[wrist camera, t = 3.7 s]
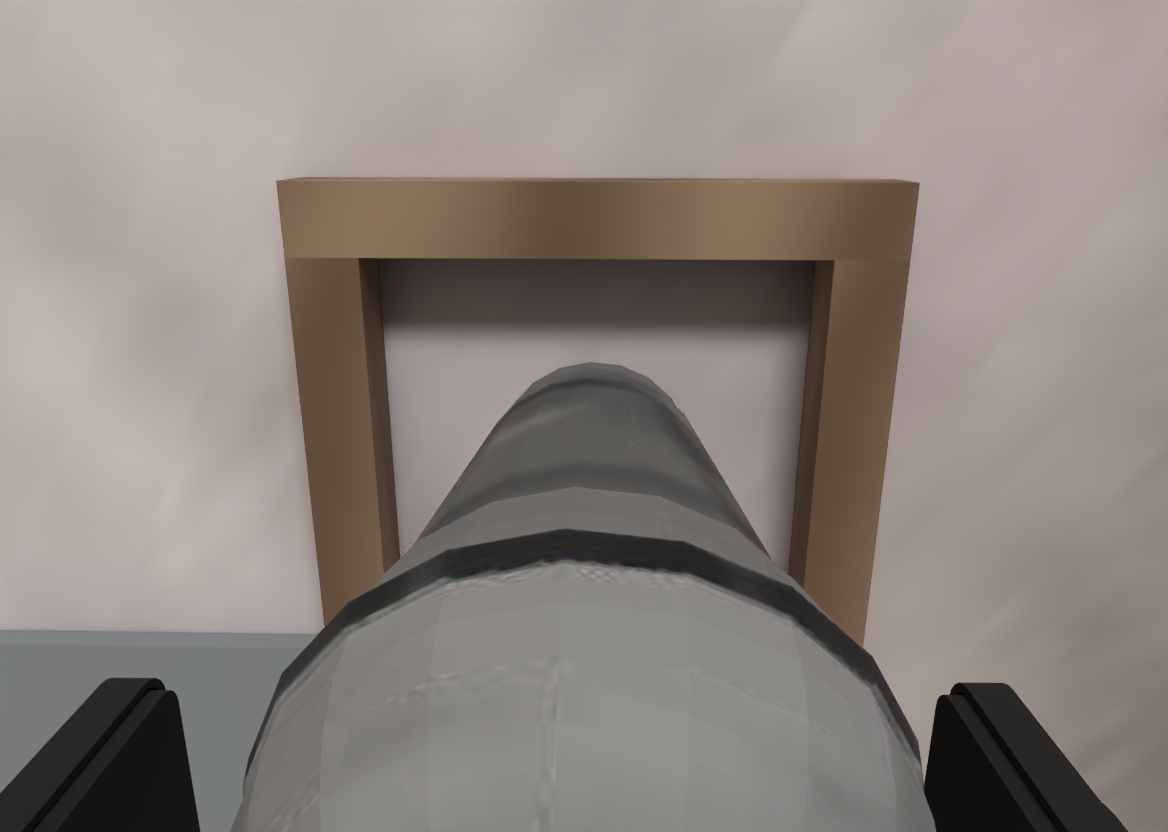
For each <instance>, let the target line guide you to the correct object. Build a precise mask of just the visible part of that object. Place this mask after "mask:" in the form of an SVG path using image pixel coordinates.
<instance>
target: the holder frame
mask: <svg viewBox="0 0 1168 832" xmlns="http://www.w3.org/2000/svg"><path fill="white" fill-rule="evenodd" d="M276 182H277V192H278V201H279V210H280V219H281V229H282V238H283V247H284V256H285V265H286V275H287V284H288V293H289V302H290V312H291V321H292V330H293V339H294V348H295V358H296V367H297V376H298V385H299V395H300V404H301V413H302V422H303V431H304V441H305V450H306V459H307V468H308V478H309V487H310V496H311V505H312V514H313V524H314V533H315V542H316V551H317V561H318V570H319V579H320V588H321V597H322V607H323V616H324V625H325V626H326V625H327V624H328V623H329V622H330V621H331V620H332V619H333V618H334V617H335V616H336V615H337V614H338V613H339V611H340V610H341V609H342V608H343V607H344V606H345V605H346V604H347V603H348V602H349V601H350V600H352V599H354V598H356V597H357V596H359V595H361V594H363V593H365V592H367V591H369V590H370V588H371V587H372V586H373V585H374V584H375V583H376V582H377V581H378V580H379V579H380V578H381V577H382V576H383V575H384V574H385V573H386V572H387V571H388V570H389V569H390V568H391V567H392V566H393V565H394V564H395V563H396V562H397V561H398V560H399V559H400V552H399V539H398V525H397V512H396V498H395V485H394V471H393V458H392V444H391V431H390V417H389V404H388V390H387V377H386V363H385V350H384V336H383V323H382V309H381V296H380V282H379V269H378V258H470V259H672V260H816V265H815V276H814V288H813V299H812V311H811V322H810V334H809V345H808V356H807V368H806V379H805V391H804V402H803V414H802V425H801V436H800V448H799V459H798V471H797V482H796V494H795V505H794V516H793V528H792V539H791V551H790V562H789V574H788V575H789V576H791V577H792V578H793V579H794V580H795V581H796V582H797V583H798V584H799V585H800V586H801V587H802V588H803V589H804V590H805V591H806V593H807V594H808V595H809V596H810V597H811V598H812V599H813V600H814V601H815V602H816V603H817V604H818V605H819V606H820V607H821V608H822V610H823V611H824V612H825V613H826V614H827V615H828V616H829V617H830V618H831V619H832V620H833V621H834V623H835V624H836V625H837V626H838V627H839V628H841V629H842V630H843V631H844V632H845V633H846V634H847V635H849V636H850V637H851V638H852V639H853V640H854V641H856V642H857V643H858V644H859V645H860V646H861V647H862V648H863V642H864V634H865V626H866V618H867V610H868V601H869V593H870V585H871V577H872V569H873V561H874V552H875V544H876V536H877V528H878V520H879V512H880V503H881V495H882V487H883V479H884V471H885V462H886V454H887V446H888V438H889V430H890V422H891V413H892V405H893V397H894V389H895V381H896V373H897V364H898V356H899V348H900V340H901V332H902V323H903V315H904V307H905V299H906V291H907V283H908V274H909V266H910V258H911V250H912V242H913V234H914V225H915V217H916V209H917V201H918V193H919V185H920V183H917V182H910V181H903V180H896V179H630V178H295V179H287V180H280V181H276Z"/></svg>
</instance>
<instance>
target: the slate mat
mask: <svg viewBox="0 0 1168 832" xmlns="http://www.w3.org/2000/svg"><path fill="white" fill-rule="evenodd" d="M316 636H317V635H291V634H220V633H149V632H78V631H7V630H0V793H1V792H2V791H3V790H4V789H5V787H6V786H7V785H8V784H9V783H10V782H11V781H12V780H13V779H14V778H15V777H16V775H17V774H18V773H19V772H20V771H21V770H22V769H23V768H24V767H25V766H26V765H27V764H28V762H29V761H30V760H31V759H32V758H33V757H34V756H35V755H36V754H37V753H38V752H39V750H40V749H41V748H42V747H43V746H44V745H45V744H46V743H47V742H48V741H49V740H50V739H51V737H52V736H53V735H54V734H55V733H56V732H57V731H58V730H59V729H60V728H61V727H62V725H63V724H64V723H65V722H66V721H67V720H68V719H69V718H70V717H71V716H72V715H73V714H74V712H75V711H76V710H77V709H78V708H79V707H80V706H81V705H82V704H83V703H84V702H85V700H86V699H87V698H88V697H89V696H90V695H91V694H92V693H93V692H94V691H95V690H96V689H97V687H98V686H99V685H100V684H101V683H103V682H104V681H105V680H106V679H109V678H157V679H160V680H161V681H162V682H163V684H164V685H165V689H166V690H172V691H174V692H175V693H176V695H177V697H178V700H179V705H180V711H181V717H182V723H183V730H184V736H185V742H186V748H187V754H188V760H189V766H190V772H191V778H192V784H193V790H194V796H195V802H196V808H197V814H198V820H199V826H200V832H230V830H231V828H232V825H233V823H234V820H235V818H236V815H237V812H238V810H239V807H240V805H241V802H242V800H243V782H244V777H245V773H246V768H247V763H248V758H249V755H250V753H251V750H252V748H253V745H254V742H255V740H256V737H257V735H258V732H259V730H260V727H261V725H262V722H263V720H264V717H265V714H266V712H267V709H268V707H269V704H270V702H271V699H272V697H273V694H274V692H275V689H276V686H277V684H278V681H279V679H280V676H281V674H282V673H283V671H284V670H285V669H286V668H287V667H288V666H289V665H290V664H291V663H292V662H293V661H294V660H295V659H296V658H297V656H298V655H299V654H300V653H301V652H302V651H303V650H304V649H305V648H306V647H307V646H308V645H309V644H310V643H311V641H312V640H313V639H314V638H315V637H316Z"/></svg>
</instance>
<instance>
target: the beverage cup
mask: <svg viewBox="0 0 1168 832" xmlns="http://www.w3.org/2000/svg"><path fill="white" fill-rule="evenodd" d="M230 832H936V828H935V823H934V819H933V816H932V813H931V811H930V808H929V805H928V803H927V800H926V798H925V792H924V782H923V773H922V765H921V758H920V751H919V745H918V740H917V738H916V736H915V734H914V732H913V730H912V729H911V727H910V725H909V723H908V721H907V719H906V717H905V716H904V714H903V712H902V710H901V708H900V706H899V705H898V703H897V701H896V699H895V697H894V695H893V693H892V692H891V690H890V688H889V686H888V684H887V682H886V681H885V679H884V677H883V675H882V673H881V671H880V669H879V668H878V666H877V664H876V662H875V660H874V658H873V657H872V655H870V654H869V653H868V652H867V651H866V650H865V649H864V648H862V647H861V646H860V645H859V644H858V643H857V642H856V641H854V640H853V639H852V638H851V637H850V636H849V635H847V634H846V633H845V632H844V631H843V630H842V629H841V628H839V627H838V626H837V625H836V624H835V623H834V621H833V620H832V619H831V618H830V617H829V616H828V615H827V614H826V613H825V612H824V611H823V610H822V608H821V607H820V606H819V605H818V604H817V603H816V602H815V601H814V600H813V599H812V598H811V597H810V596H809V595H808V594H807V593H806V591H805V590H804V589H803V588H802V587H801V586H800V585H799V584H798V583H797V582H796V581H795V580H794V579H793V578H792V577H791V576H789V575H788V574H787V573H786V572H785V571H784V570H783V569H781V568H780V567H779V566H778V565H777V564H776V563H775V562H773V561H772V559H771V558H770V556H769V554H768V553H767V551H766V549H765V548H764V546H763V544H762V543H761V541H760V539H759V538H758V536H757V534H756V533H755V531H754V529H753V528H752V526H751V525H750V523H749V521H748V520H747V518H746V516H745V515H744V513H743V511H742V510H741V508H740V506H739V505H738V503H737V501H736V500H735V498H734V496H733V495H732V493H731V491H730V490H729V488H728V486H727V485H726V483H725V481H724V480H723V478H722V476H721V475H720V473H719V471H718V470H717V468H716V466H715V465H714V463H713V461H712V460H711V458H710V456H709V455H708V453H707V451H706V450H705V448H704V446H703V445H702V443H701V441H700V440H699V438H698V436H697V435H696V433H695V431H694V430H693V428H692V426H691V425H690V423H689V421H688V420H687V418H686V416H685V415H684V413H682V412H681V411H680V410H679V409H678V408H677V407H676V406H675V404H674V403H673V401H672V399H671V398H670V397H669V396H668V395H667V394H666V393H665V392H664V391H663V390H661V389H660V388H659V387H658V386H657V385H656V384H655V383H654V382H653V381H651V380H650V379H649V378H647V377H645V376H643V375H641V374H638V373H636V372H634V371H632V370H629V369H627V368H625V367H623V366H619V365H610V364H601V363H592V362H589V363H584V364H579V365H574V366H569V367H564V368H559V369H558V370H556V371H554V372H552V373H550V374H549V375H547V376H545V377H543V378H541V379H540V380H538V381H536V382H534V383H533V384H532V385H531V386H530V387H529V388H528V389H527V390H526V391H525V393H524V394H523V395H522V396H521V397H520V398H519V399H518V400H517V401H516V402H515V403H514V404H513V406H512V407H511V408H510V409H509V410H508V411H507V412H506V413H505V415H504V416H503V417H502V418H501V419H500V420H499V421H498V422H497V424H496V425H495V427H494V428H493V430H492V431H491V433H490V434H489V435H488V437H487V438H486V440H485V441H484V443H483V444H482V446H481V447H480V449H479V450H478V452H477V453H476V454H475V456H474V457H473V459H472V460H471V462H470V463H469V465H468V466H467V468H466V469H465V471H464V472H463V473H462V475H461V476H460V478H459V479H458V481H457V482H456V484H455V485H454V487H453V488H452V490H451V491H450V492H449V494H448V495H447V497H446V498H445V500H444V501H443V503H442V504H441V506H440V507H439V508H438V510H437V511H436V513H435V514H434V516H433V517H432V519H431V520H430V522H429V523H428V525H427V526H426V527H425V529H424V530H423V532H422V533H421V535H420V536H419V538H418V539H417V541H416V542H415V544H414V545H413V546H412V548H411V549H410V550H409V551H408V552H407V553H405V554H404V555H403V556H402V557H401V558H400V559H399V560H398V561H397V562H396V563H395V564H394V565H393V566H392V567H391V568H390V569H389V570H388V571H387V572H386V573H385V574H384V575H383V576H382V577H381V578H380V579H379V580H378V581H377V582H376V583H375V584H374V585H373V586H372V587H371V588H370V590H369V591H367V592H365V593H363V594H361V595H359V596H357V597H356V598H354V599H352V600H350V601H349V602H348V603H347V604H346V605H345V606H344V607H343V608H342V609H341V610H340V611H339V613H338V614H337V615H336V616H335V617H334V618H333V619H332V620H331V621H330V622H329V623H328V624H327V625H326V626H325V628H324V629H323V630H322V631H321V632H320V633H319V634H318V635H317V636H316V637H315V638H314V639H313V640H312V641H311V643H310V644H309V645H308V646H307V647H306V648H305V649H304V650H303V651H302V652H301V653H300V654H299V655H298V656H297V658H296V659H295V660H294V661H293V662H292V663H291V664H290V665H289V666H288V667H287V668H286V669H285V670H284V671H283V673H282V674H281V676H280V679H279V681H278V684H277V686H276V689H275V692H274V694H273V697H272V699H271V702H270V704H269V707H268V709H267V712H266V714H265V717H264V720H263V722H262V725H261V727H260V730H259V732H258V735H257V737H256V740H255V742H254V745H253V748H252V750H251V753H250V755H249V758H248V763H247V768H246V773H245V777H244V782H243V800H242V802H241V805H240V807H239V810H238V812H237V815H236V818H235V820H234V823H233V825H232V828H231V830H230Z"/></svg>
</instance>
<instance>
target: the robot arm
mask: <svg viewBox="0 0 1168 832" xmlns="http://www.w3.org/2000/svg"><path fill="white" fill-rule="evenodd" d="M924 792H925V798H926V800H927V803H928V805H929V808H930V811H931V813H932V816H933V819H934V823H935V828H936V832H1128V831H1127V830H1126V828H1125V827H1124V826H1123V825H1122V823H1121V822H1120V821H1119V820H1118V818H1117V817H1116V816H1115V815H1114V814H1113V813H1112V812H1111V811H1110V810H1109V809H1108V808H1107V807H1106V806H1105V805H1104V804H1103V803H1101V801H1100V800H1099V799H1098V797H1097V796H1096V795H1095V794H1094V792H1093V791H1092V790H1091V789H1090V787H1089V786H1088V785H1087V783H1086V782H1085V781H1084V780H1083V778H1082V777H1081V776H1080V775H1079V773H1078V772H1077V771H1076V769H1075V768H1074V767H1073V766H1072V764H1071V763H1070V762H1069V761H1068V759H1067V758H1066V757H1065V755H1064V754H1063V753H1062V752H1061V750H1060V749H1059V748H1058V747H1057V745H1056V744H1055V743H1054V741H1053V740H1052V739H1051V738H1050V736H1049V735H1048V734H1047V733H1046V731H1045V730H1044V729H1043V727H1042V726H1041V725H1040V724H1039V722H1038V721H1037V720H1036V719H1035V717H1034V716H1033V715H1032V713H1031V712H1030V711H1029V710H1028V708H1027V707H1026V706H1025V705H1024V703H1023V702H1022V701H1021V699H1020V698H1019V697H1018V696H1017V694H1016V693H1015V692H1014V691H1013V689H1012V688H1011V687H1009V686H1008V685H1007V684H1004V683H957V684H955V685H954V686H953V688H952V689H951V693H950V695H942V696H940V697H939V699H938V700H937V704H936V710H935V717H934V723H933V730H932V737H931V743H930V750H929V757H928V764H927V770H926V777H925V784H924ZM0 832H200V826H199V820H198V814H197V808H196V802H195V796H194V790H193V784H192V778H191V772H190V766H189V760H188V754H187V748H186V742H185V736H184V730H183V723H182V717H181V711H180V705H179V700H178V697H177V695H176V693H175V692H174V691H172V690H166V689H165V685H164V684H163V682H162V681H161V680H160V679H157V678H109V679H106V680H105V681H104V682H103V683H101V684H100V685H99V686H98V687H97V689H96V690H95V691H94V692H93V693H92V694H91V695H90V696H89V697H88V698H87V699H86V700H85V702H84V703H83V704H82V705H81V706H80V707H79V708H78V709H77V710H76V711H75V712H74V714H73V715H72V716H71V717H70V718H69V719H68V720H67V721H66V722H65V723H64V724H63V725H62V727H61V728H60V729H59V730H58V731H57V732H56V733H55V734H54V735H53V736H52V737H51V739H50V740H49V741H48V742H47V743H46V744H45V745H44V746H43V747H42V748H41V749H40V750H39V752H38V753H37V754H36V755H35V756H34V757H33V758H32V759H31V760H30V761H29V762H28V764H27V765H26V766H25V767H24V768H23V769H22V770H21V771H20V772H19V773H18V774H17V775H16V777H15V778H14V779H13V780H12V781H11V782H10V783H9V784H8V785H7V786H6V787H5V789H4V790H3V791H2V792H1V793H0Z"/></svg>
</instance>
